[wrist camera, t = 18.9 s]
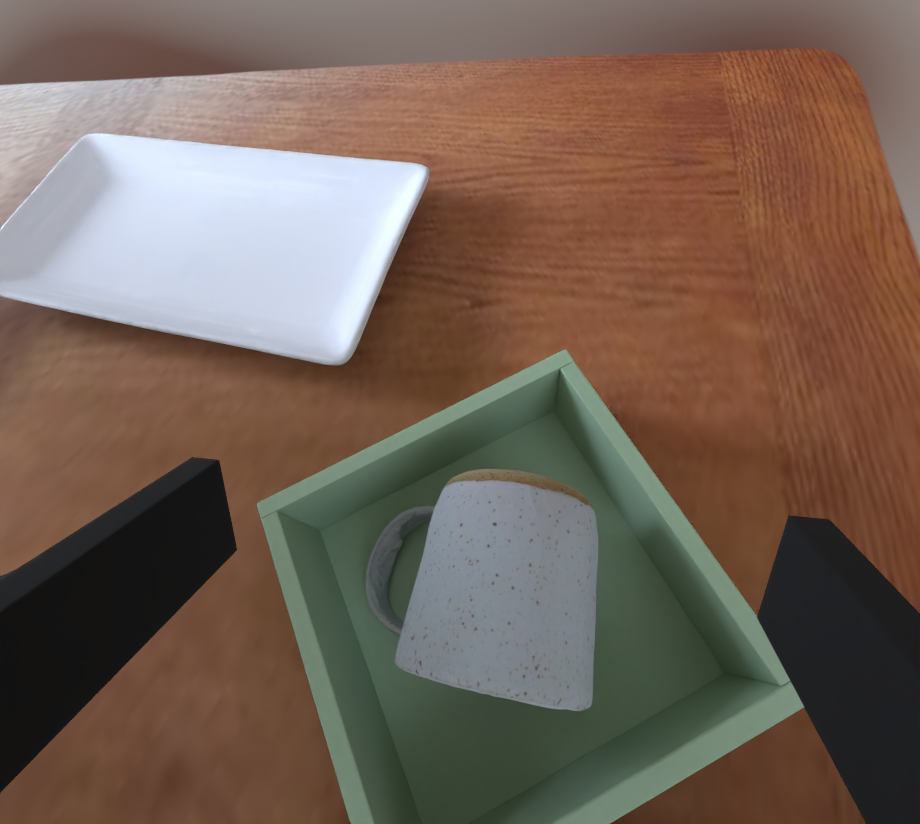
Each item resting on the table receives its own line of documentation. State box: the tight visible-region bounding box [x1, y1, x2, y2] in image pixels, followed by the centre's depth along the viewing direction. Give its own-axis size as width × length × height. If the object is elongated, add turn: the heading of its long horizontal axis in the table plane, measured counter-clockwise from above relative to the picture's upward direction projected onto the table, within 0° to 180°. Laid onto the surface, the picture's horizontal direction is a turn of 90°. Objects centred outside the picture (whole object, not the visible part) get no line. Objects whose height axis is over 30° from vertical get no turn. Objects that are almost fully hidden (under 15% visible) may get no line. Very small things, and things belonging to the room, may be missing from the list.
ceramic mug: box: [365, 469, 598, 711], centre depth 20 cm, size 11×8×8 cm
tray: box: [0, 133, 430, 365], centre depth 35 cm, size 17×31×4 cm, turn 74°
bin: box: [256, 349, 804, 824], centre depth 21 cm, size 16×16×6 cm
